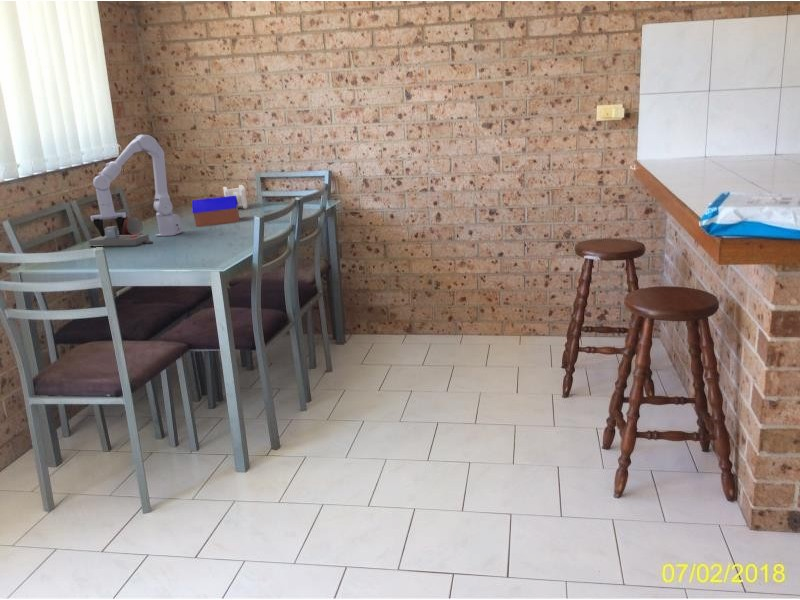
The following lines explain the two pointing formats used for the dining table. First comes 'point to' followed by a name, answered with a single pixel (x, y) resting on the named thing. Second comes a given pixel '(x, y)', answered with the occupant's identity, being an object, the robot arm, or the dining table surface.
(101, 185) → the robot arm
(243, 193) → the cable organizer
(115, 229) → the block
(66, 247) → the dining table surface
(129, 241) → the power strip
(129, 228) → the mug
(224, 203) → the blue-topped brown box
